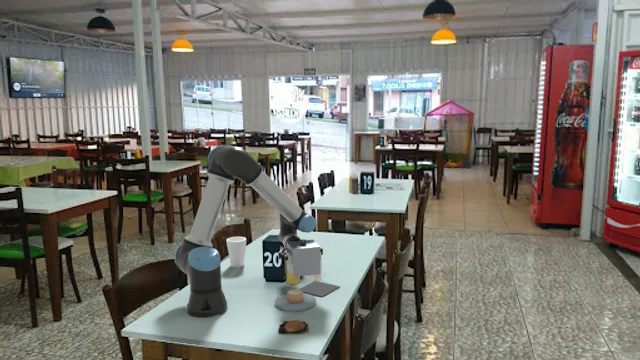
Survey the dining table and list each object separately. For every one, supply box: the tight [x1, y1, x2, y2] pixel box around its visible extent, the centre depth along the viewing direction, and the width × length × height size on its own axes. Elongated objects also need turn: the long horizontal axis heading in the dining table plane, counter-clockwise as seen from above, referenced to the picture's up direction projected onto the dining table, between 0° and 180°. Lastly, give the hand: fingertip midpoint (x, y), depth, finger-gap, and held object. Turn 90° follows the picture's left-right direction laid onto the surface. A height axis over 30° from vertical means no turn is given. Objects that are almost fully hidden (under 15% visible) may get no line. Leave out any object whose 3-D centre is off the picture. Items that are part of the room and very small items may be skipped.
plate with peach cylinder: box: [274, 288, 317, 313], centre depth 199 cm, size 16×16×5 cm
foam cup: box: [226, 236, 247, 268], centre depth 246 cm, size 10×9×13 cm
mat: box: [299, 280, 341, 298], centre depth 214 cm, size 13×13×1 cm
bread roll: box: [277, 319, 310, 335], centre depth 177 cm, size 11×8×4 cm
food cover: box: [286, 238, 322, 278], centre depth 201 cm, size 11×11×13 cm
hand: (305, 259), depth 197 cm, fingers closed on food cover, 11 cm apart
